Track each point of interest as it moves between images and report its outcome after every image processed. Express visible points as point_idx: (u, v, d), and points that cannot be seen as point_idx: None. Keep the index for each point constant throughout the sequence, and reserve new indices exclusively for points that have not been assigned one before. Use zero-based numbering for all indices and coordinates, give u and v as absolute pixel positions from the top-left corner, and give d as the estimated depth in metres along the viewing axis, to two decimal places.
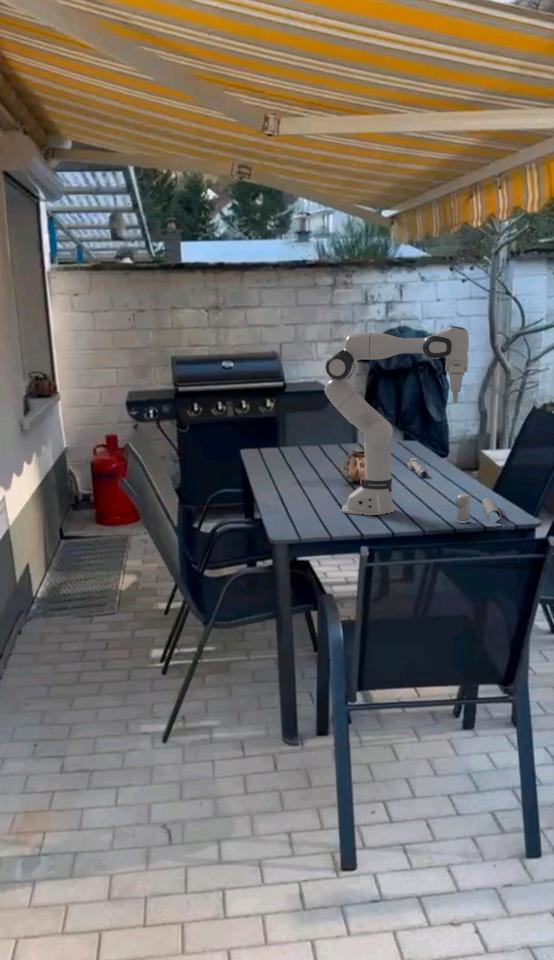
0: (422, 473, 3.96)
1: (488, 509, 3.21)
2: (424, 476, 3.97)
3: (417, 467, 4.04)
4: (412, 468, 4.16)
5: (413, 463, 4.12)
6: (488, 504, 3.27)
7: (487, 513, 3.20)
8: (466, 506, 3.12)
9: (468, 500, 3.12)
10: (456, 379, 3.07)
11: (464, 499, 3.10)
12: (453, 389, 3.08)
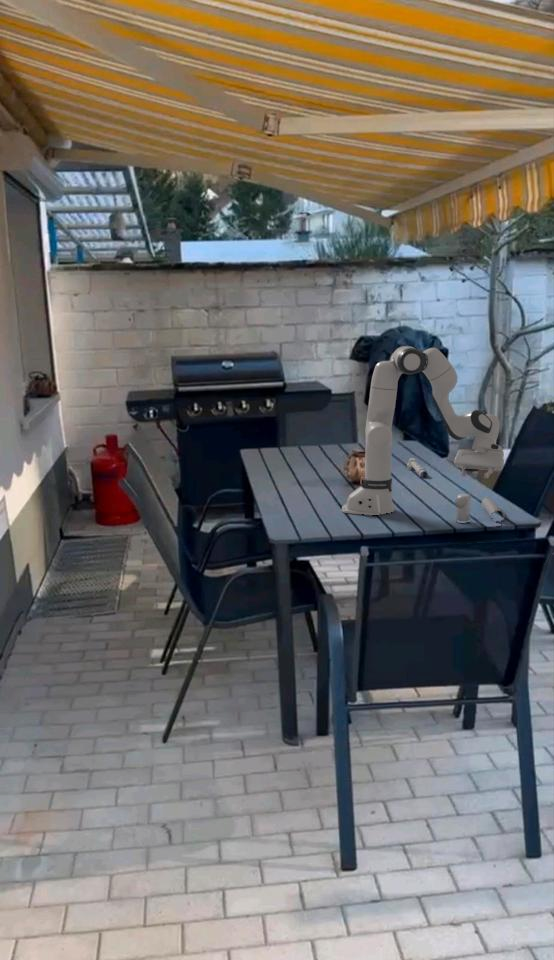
0: (422, 473, 3.96)
1: (490, 509, 3.20)
2: (424, 476, 3.97)
3: (417, 467, 4.04)
4: (411, 468, 4.16)
5: (412, 463, 4.12)
6: (489, 504, 3.26)
7: (490, 513, 3.20)
8: (466, 506, 3.12)
9: (468, 500, 3.12)
10: (503, 459, 3.22)
11: (464, 499, 3.10)
12: (501, 465, 3.20)
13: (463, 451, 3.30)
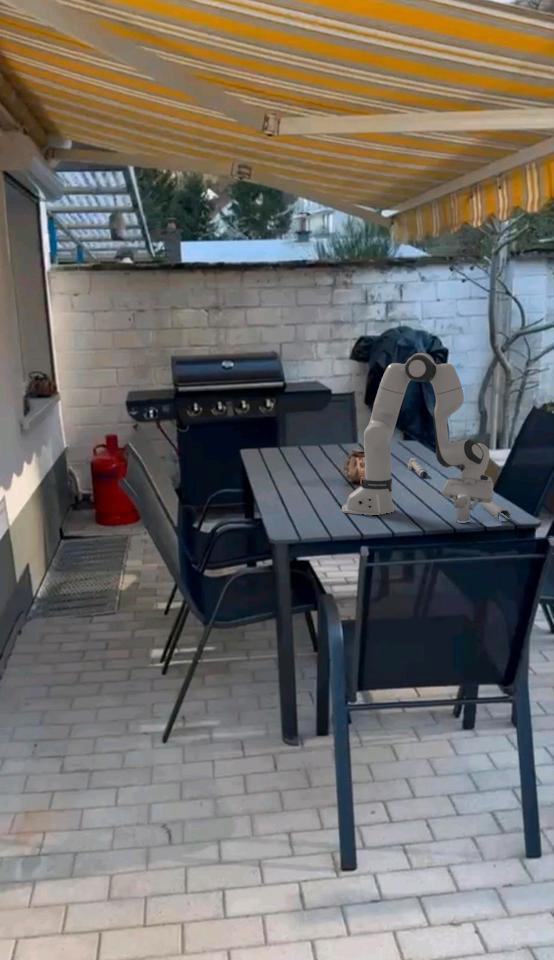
0: (422, 473, 3.96)
1: (495, 509, 3.20)
2: (424, 476, 3.97)
3: (417, 467, 4.04)
4: (412, 468, 4.16)
5: (413, 463, 4.12)
6: (492, 504, 3.26)
7: (494, 513, 3.20)
8: (466, 506, 3.12)
9: (468, 500, 3.12)
10: (492, 491, 3.14)
11: (464, 499, 3.10)
12: (491, 497, 3.11)
13: (452, 481, 3.22)
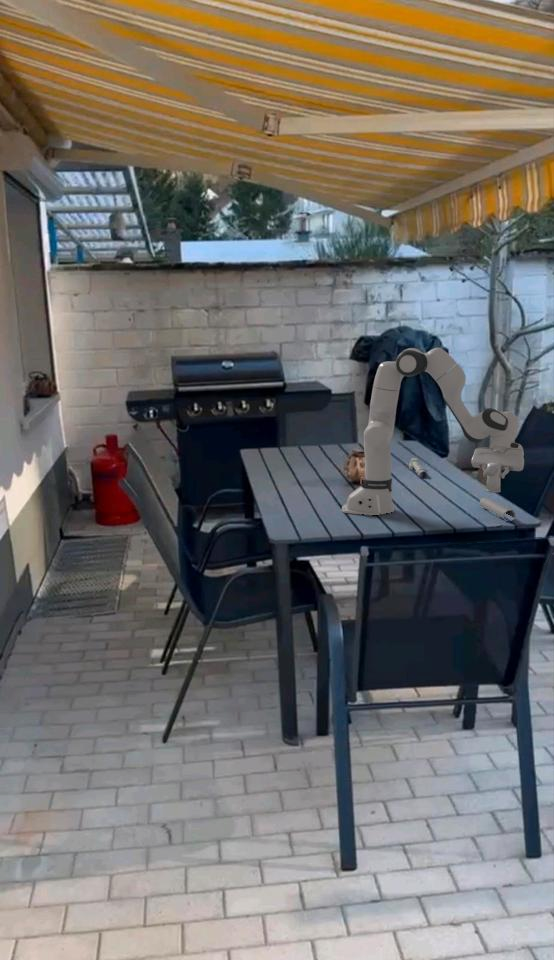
0: (422, 473, 3.96)
1: (499, 509, 3.20)
2: (424, 476, 3.97)
3: (417, 467, 4.04)
4: (413, 468, 4.16)
5: (413, 463, 4.12)
6: (494, 504, 3.26)
7: (499, 513, 3.19)
8: (496, 474, 3.05)
9: (498, 468, 3.04)
10: (523, 458, 3.06)
11: (494, 467, 3.03)
12: (522, 465, 3.04)
13: (481, 450, 3.14)
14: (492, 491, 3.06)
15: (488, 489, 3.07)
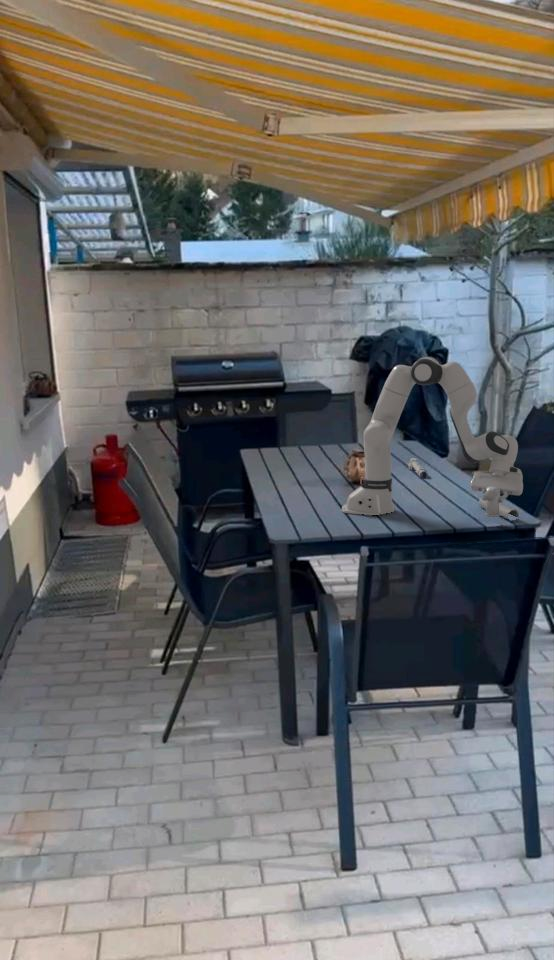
0: (422, 473, 3.96)
1: (502, 509, 3.20)
2: (424, 476, 3.97)
3: (417, 467, 4.04)
4: (412, 468, 4.16)
5: (413, 463, 4.12)
6: None
7: (502, 513, 3.19)
8: (495, 499, 3.07)
9: (497, 492, 3.06)
10: (522, 483, 3.08)
11: (494, 491, 3.05)
12: (520, 490, 3.06)
13: (480, 474, 3.16)
14: (491, 515, 3.08)
15: (487, 513, 3.09)
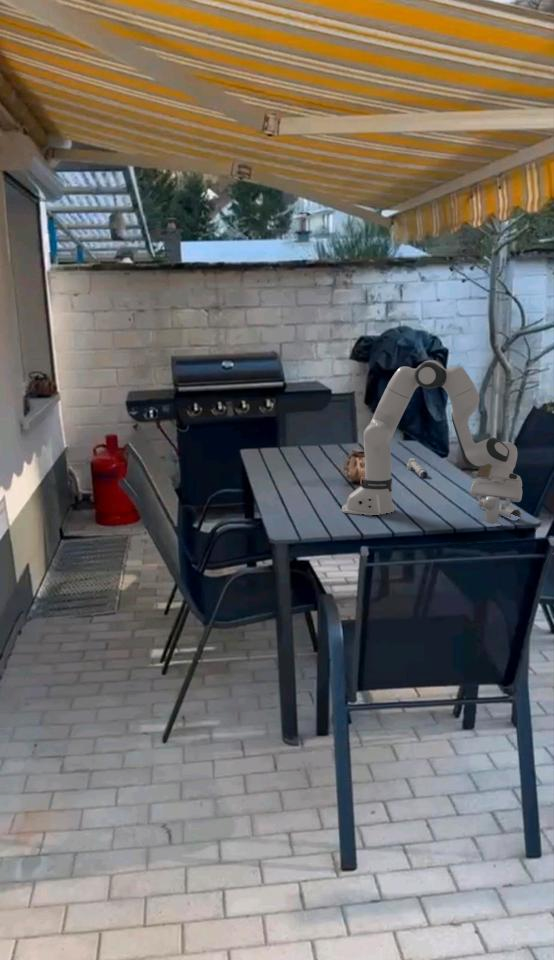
0: (422, 473, 3.96)
1: None
2: (424, 476, 3.97)
3: (417, 467, 4.04)
4: (411, 468, 4.15)
5: (412, 463, 4.11)
6: None
7: (504, 513, 3.19)
8: (495, 508, 3.08)
9: (497, 502, 3.07)
10: (521, 490, 3.09)
11: (493, 500, 3.06)
12: (520, 496, 3.06)
13: (479, 480, 3.16)
14: None
15: (486, 522, 3.10)
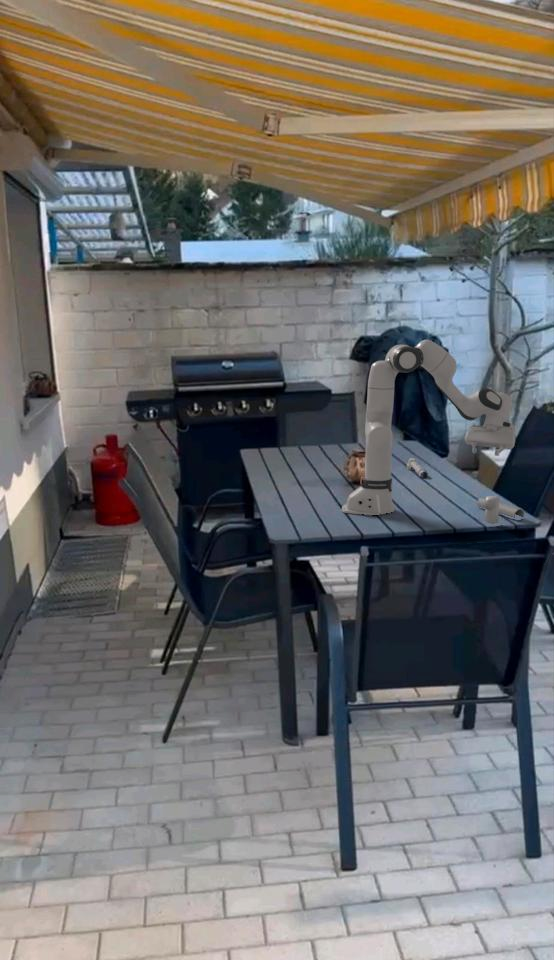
0: (423, 473, 3.96)
1: (507, 509, 3.20)
2: (425, 476, 3.97)
3: (417, 467, 4.04)
4: (411, 468, 4.15)
5: (412, 463, 4.11)
6: None
7: (507, 513, 3.20)
8: (495, 508, 3.08)
9: (497, 502, 3.07)
10: (514, 437, 3.20)
11: (493, 501, 3.06)
12: (512, 443, 3.18)
13: (474, 428, 3.28)
14: None
15: (486, 522, 3.10)
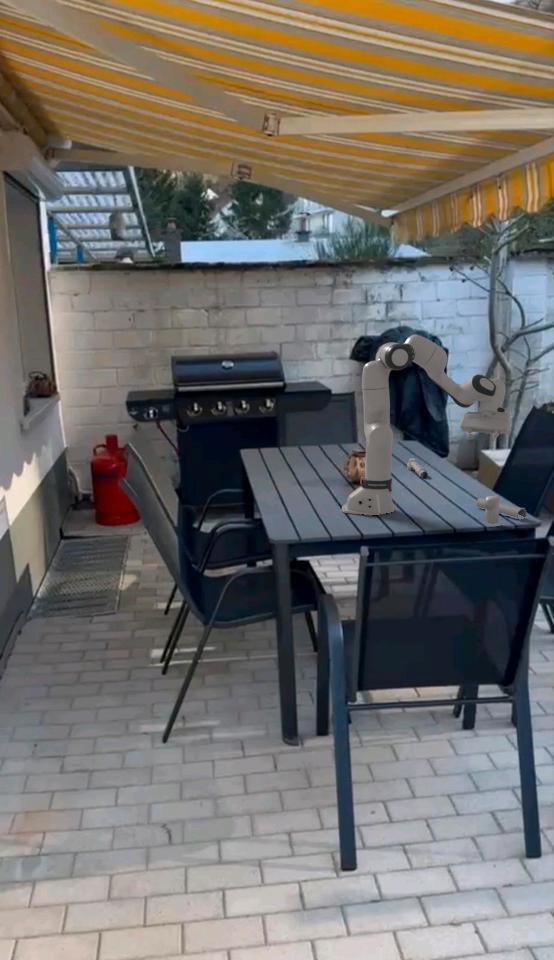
0: (423, 473, 3.96)
1: (509, 509, 3.21)
2: (425, 476, 3.96)
3: (417, 467, 4.04)
4: (411, 468, 4.15)
5: (412, 463, 4.11)
6: (499, 504, 3.26)
7: (509, 513, 3.20)
8: (495, 508, 3.08)
9: (497, 502, 3.07)
10: (509, 422, 3.22)
11: (493, 501, 3.06)
12: (507, 428, 3.20)
13: (469, 415, 3.30)
14: None
15: (486, 522, 3.10)
